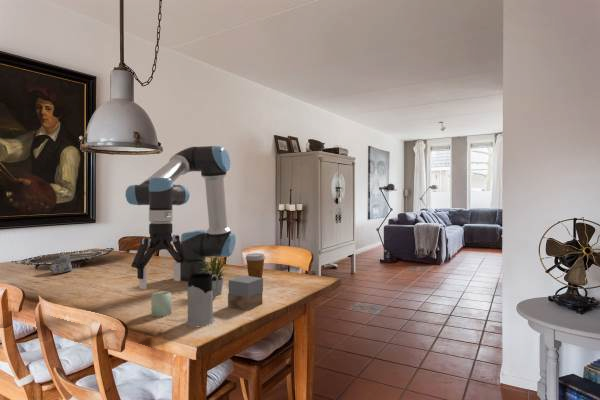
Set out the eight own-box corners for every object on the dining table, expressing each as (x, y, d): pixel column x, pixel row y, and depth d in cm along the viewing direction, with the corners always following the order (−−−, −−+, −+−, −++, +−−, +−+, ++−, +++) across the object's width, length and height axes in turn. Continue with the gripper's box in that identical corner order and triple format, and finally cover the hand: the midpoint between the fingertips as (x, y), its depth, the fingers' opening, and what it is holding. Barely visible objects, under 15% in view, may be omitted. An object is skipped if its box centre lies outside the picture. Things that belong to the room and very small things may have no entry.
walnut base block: (228, 307, 132) (227, 293, 132) (244, 301, 140) (244, 288, 140) (246, 311, 127) (246, 297, 127) (262, 304, 135) (262, 291, 135)
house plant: (193, 291, 153) (193, 252, 153) (226, 287, 159) (225, 250, 159) (198, 299, 140) (197, 258, 140) (233, 295, 146) (233, 255, 145)
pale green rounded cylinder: (147, 315, 123) (147, 294, 123) (163, 310, 128) (163, 290, 128) (159, 318, 119) (159, 297, 119) (175, 313, 125) (175, 293, 125)
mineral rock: (52, 276, 182) (51, 256, 181) (41, 274, 187) (41, 255, 187) (78, 271, 193) (78, 253, 193) (67, 269, 198) (67, 251, 198)
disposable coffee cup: (266, 277, 179) (266, 253, 179) (263, 281, 169) (262, 256, 169) (248, 276, 180) (248, 253, 180) (243, 281, 170) (243, 256, 170)
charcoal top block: (228, 293, 132) (228, 280, 132) (244, 288, 140) (244, 275, 140) (247, 297, 127) (247, 283, 127) (263, 291, 135) (262, 278, 135)
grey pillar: (180, 325, 113) (180, 277, 113) (207, 311, 126) (207, 269, 126) (203, 328, 110) (203, 280, 110) (228, 314, 123) (228, 270, 123)
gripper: (133, 225, 111) (133, 293, 111) (196, 221, 132) (196, 278, 132) (119, 224, 115) (119, 290, 115) (182, 220, 136) (182, 276, 136)
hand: (160, 284), depth 123 cm, fingers open, 13 cm apart
